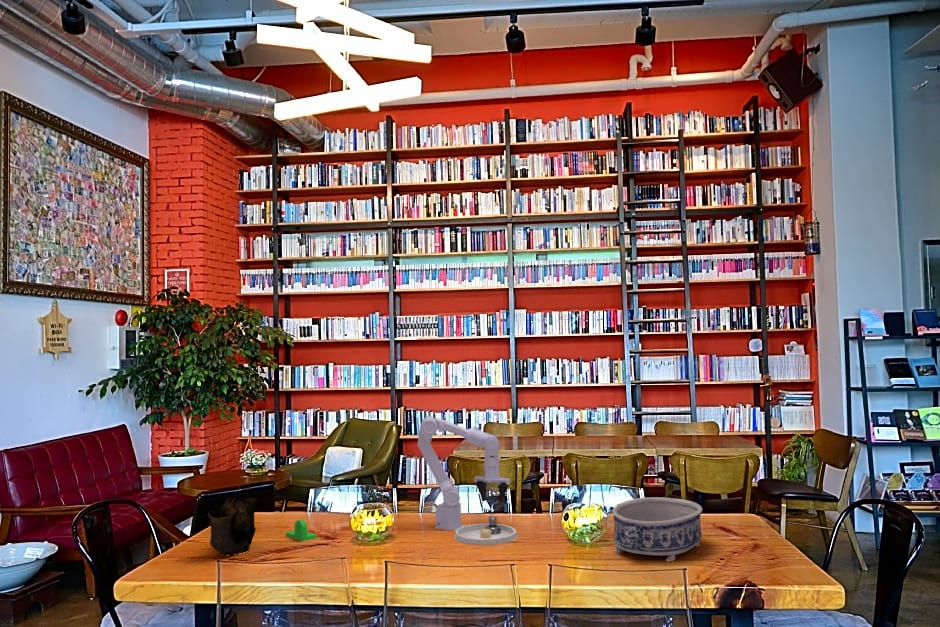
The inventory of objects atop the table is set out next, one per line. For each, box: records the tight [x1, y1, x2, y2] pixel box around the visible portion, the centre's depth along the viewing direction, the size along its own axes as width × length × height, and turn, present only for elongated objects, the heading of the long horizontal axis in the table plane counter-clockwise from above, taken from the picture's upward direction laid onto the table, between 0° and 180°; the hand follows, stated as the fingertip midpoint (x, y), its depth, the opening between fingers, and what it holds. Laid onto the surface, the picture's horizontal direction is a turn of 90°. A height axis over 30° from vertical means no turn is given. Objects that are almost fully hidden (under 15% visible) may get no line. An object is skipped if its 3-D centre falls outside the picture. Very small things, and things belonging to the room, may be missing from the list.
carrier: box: [454, 522, 518, 546], centre depth 265 cm, size 23×23×3 cm
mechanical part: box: [285, 519, 318, 542], centre depth 270 cm, size 12×6×8 cm, turn 43°
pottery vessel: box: [207, 496, 259, 556], centre depth 252 cm, size 25×11×20 cm, turn 170°
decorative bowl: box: [612, 496, 703, 562], centre depth 245 cm, size 42×27×15 cm, turn 142°
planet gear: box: [485, 515, 501, 534], centre depth 270 cm, size 6×6×6 cm
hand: (492, 501), depth 282 cm, fingers open, 7 cm apart
